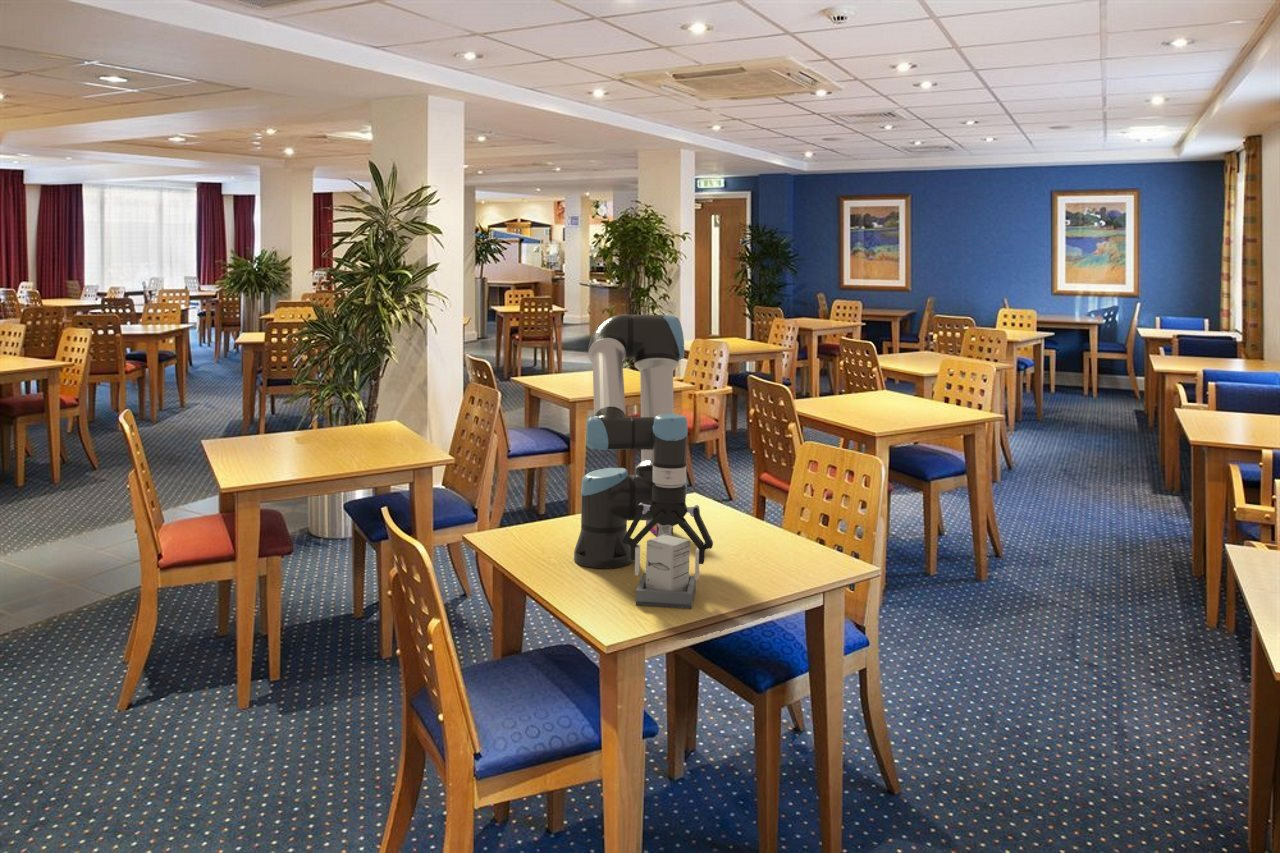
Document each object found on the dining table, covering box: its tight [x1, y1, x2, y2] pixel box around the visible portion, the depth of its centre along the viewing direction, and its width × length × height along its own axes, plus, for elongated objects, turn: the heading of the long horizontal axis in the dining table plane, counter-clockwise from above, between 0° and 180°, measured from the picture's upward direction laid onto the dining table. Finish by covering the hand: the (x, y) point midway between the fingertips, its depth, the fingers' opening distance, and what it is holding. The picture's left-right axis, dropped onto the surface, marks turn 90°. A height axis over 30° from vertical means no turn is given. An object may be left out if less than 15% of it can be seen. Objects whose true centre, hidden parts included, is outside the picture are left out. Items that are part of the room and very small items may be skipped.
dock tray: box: [635, 572, 697, 610], centre depth 214 cm, size 12×12×4 cm
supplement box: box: [645, 535, 691, 592], centre depth 213 cm, size 7×7×13 cm
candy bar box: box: [645, 520, 674, 537], centre depth 266 cm, size 11×5×16 cm, turn 17°
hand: (667, 575), depth 213 cm, fingers open, 13 cm apart
